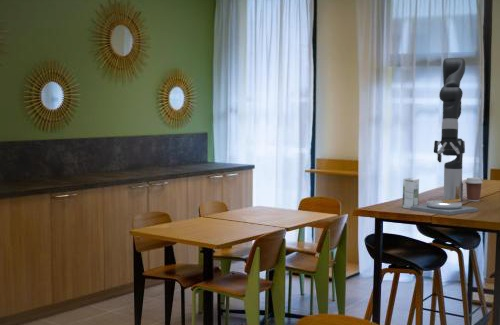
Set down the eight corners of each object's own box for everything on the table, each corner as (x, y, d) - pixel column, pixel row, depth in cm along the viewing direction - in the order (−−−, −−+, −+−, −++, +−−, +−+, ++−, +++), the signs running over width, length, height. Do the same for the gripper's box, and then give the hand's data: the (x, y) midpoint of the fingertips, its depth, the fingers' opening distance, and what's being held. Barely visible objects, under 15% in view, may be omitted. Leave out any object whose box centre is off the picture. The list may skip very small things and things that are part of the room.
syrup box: (407, 206, 326) (408, 177, 325) (418, 208, 322) (419, 178, 321) (402, 208, 322) (402, 178, 321) (413, 209, 318) (414, 179, 317)
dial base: (438, 206, 329) (438, 202, 329) (477, 211, 312) (477, 207, 312) (409, 209, 316) (409, 206, 316) (449, 215, 298) (449, 211, 298)
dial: (447, 209, 302) (448, 190, 302) (419, 206, 315) (419, 187, 315) (473, 206, 315) (474, 187, 314) (445, 203, 327) (445, 185, 327)
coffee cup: (483, 201, 348) (484, 179, 347) (465, 201, 350) (466, 178, 349) (481, 199, 357) (481, 177, 356) (463, 199, 359) (464, 177, 358)
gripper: (467, 129, 317) (465, 163, 316) (437, 129, 324) (436, 162, 324) (462, 127, 311) (461, 162, 310) (432, 128, 318) (431, 161, 317)
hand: (448, 162), depth 317 cm, fingers open, 8 cm apart
